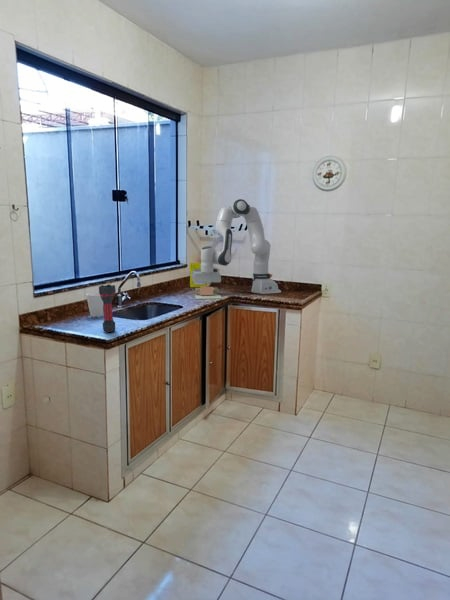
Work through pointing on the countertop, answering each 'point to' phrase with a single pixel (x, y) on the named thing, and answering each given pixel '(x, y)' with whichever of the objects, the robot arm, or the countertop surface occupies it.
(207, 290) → the terracotta tile
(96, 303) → the foam cup
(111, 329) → the flashlight
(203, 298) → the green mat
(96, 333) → the countertop surface
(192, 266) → the food package
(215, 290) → the birch deck
